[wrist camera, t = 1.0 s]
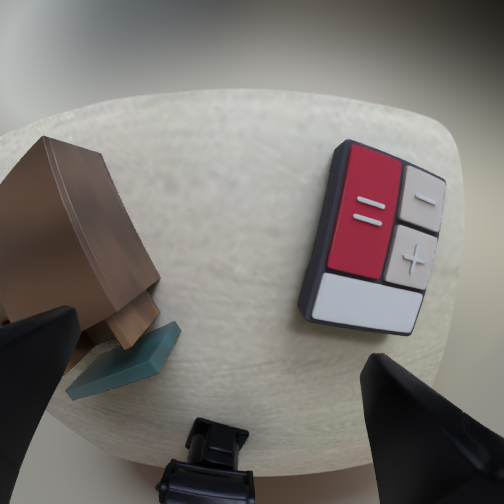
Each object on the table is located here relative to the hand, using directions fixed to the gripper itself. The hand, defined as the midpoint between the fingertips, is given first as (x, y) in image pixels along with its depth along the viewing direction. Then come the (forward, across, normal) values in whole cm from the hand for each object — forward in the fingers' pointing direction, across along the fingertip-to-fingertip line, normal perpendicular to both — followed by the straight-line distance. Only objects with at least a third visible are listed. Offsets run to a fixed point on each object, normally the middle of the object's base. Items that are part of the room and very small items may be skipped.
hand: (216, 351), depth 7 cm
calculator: (+17, -12, 0) cm, 21 cm away
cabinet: (+16, +16, +4) cm, 23 cm away
